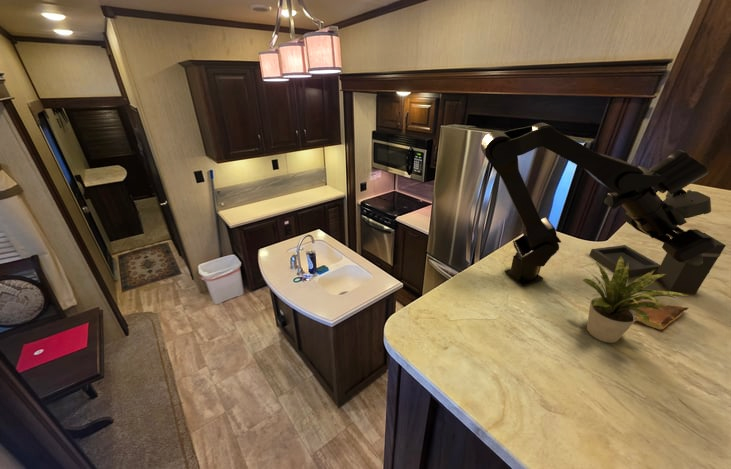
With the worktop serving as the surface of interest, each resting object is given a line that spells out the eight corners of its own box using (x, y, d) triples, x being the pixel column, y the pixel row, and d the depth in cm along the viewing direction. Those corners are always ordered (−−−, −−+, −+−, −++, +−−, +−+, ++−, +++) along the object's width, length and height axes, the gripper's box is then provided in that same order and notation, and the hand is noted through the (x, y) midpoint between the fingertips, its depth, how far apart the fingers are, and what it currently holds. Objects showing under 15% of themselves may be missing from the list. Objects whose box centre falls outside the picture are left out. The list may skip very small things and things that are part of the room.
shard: (685, 312, 61) (689, 306, 60) (705, 340, 55) (710, 333, 54) (621, 302, 65) (624, 296, 64) (634, 326, 59) (637, 320, 58)
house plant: (617, 380, 49) (658, 309, 41) (544, 325, 61) (565, 261, 53) (665, 348, 54) (709, 279, 46) (589, 303, 65) (614, 241, 57)
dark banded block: (669, 292, 67) (696, 244, 60) (653, 277, 71) (677, 231, 65) (696, 294, 66) (726, 245, 59) (678, 278, 70) (704, 232, 64)
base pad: (622, 278, 72) (625, 270, 71) (589, 255, 81) (591, 248, 80) (659, 273, 73) (662, 266, 72) (622, 251, 82) (625, 244, 81)
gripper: (730, 198, 49) (773, 255, 52) (657, 167, 65) (693, 212, 68) (657, 236, 55) (699, 286, 58) (606, 199, 71) (641, 239, 74)
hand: (683, 252), depth 64 cm, fingers open, 9 cm apart
